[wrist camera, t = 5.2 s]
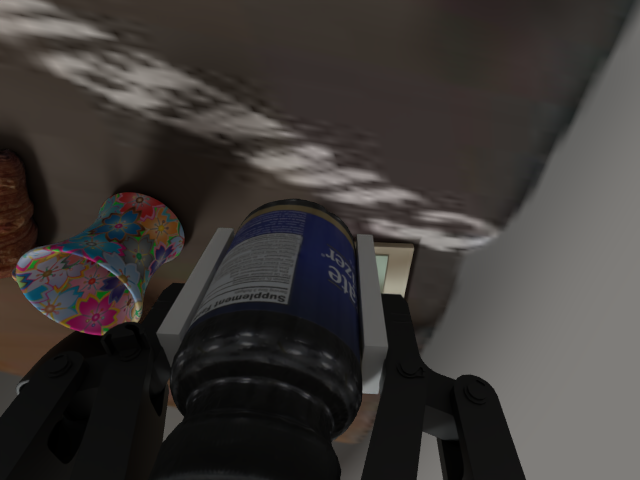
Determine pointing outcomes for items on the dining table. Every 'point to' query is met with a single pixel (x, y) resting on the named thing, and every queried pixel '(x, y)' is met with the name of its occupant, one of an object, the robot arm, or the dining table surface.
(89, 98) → the dining table surface
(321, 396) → the pill bottle
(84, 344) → the mug
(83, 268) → the mug
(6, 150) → the pastry
